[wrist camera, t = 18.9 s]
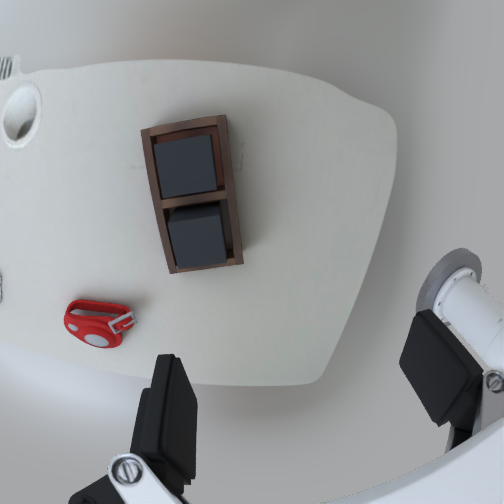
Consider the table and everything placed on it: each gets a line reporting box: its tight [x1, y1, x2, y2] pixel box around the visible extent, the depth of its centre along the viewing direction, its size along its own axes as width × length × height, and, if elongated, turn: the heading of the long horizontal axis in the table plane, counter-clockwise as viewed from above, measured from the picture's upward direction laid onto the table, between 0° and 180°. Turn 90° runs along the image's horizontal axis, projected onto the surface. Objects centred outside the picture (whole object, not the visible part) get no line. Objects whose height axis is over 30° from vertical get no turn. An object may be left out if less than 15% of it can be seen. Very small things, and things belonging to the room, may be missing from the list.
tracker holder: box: [64, 300, 138, 348], centre depth 33 cm, size 12×4×10 cm
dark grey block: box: [154, 135, 217, 198], centre depth 25 cm, size 5×5×5 cm
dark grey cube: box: [168, 202, 227, 269], centre depth 28 cm, size 5×5×5 cm
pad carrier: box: [141, 115, 244, 274], centre depth 28 cm, size 8×16×3 cm, turn 6°
